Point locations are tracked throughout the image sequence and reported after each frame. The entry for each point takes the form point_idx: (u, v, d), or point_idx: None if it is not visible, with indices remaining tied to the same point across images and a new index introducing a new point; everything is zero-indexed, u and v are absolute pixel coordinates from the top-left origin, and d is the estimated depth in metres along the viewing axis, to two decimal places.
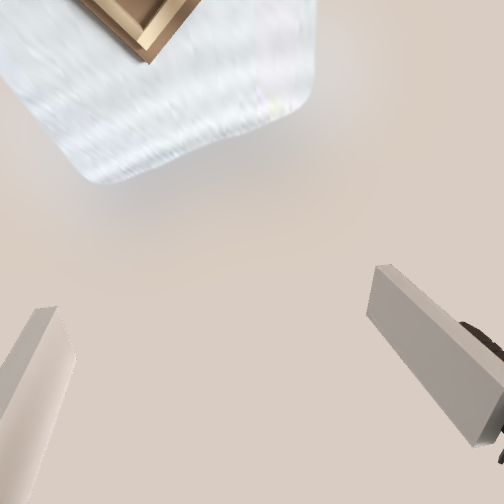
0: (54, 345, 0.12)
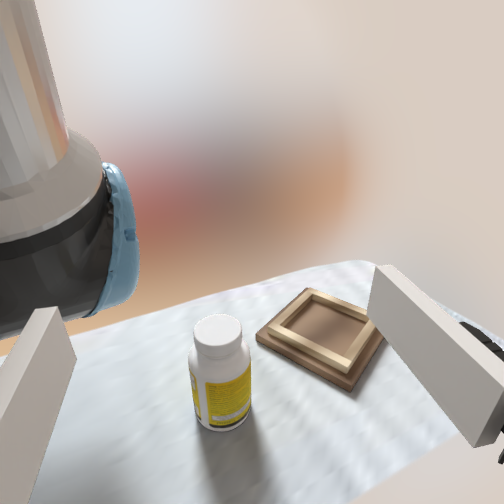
0: (54, 345, 0.12)
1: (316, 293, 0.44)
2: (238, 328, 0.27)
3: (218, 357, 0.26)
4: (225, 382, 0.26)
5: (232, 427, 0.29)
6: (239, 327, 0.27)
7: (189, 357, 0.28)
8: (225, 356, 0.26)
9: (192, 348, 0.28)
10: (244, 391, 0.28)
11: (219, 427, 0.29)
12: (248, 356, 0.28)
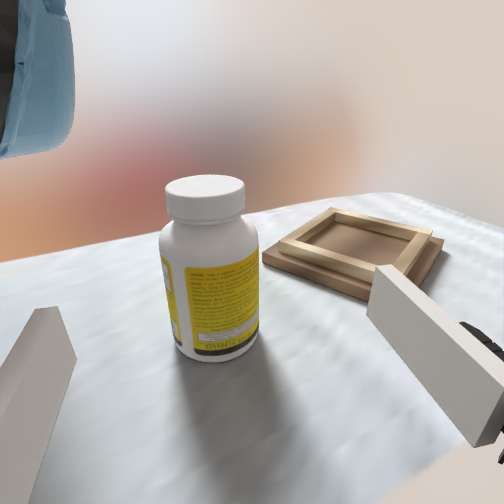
0: (54, 345, 0.12)
1: (340, 212, 0.34)
2: (239, 183, 0.17)
3: (206, 222, 0.16)
4: (218, 267, 0.16)
5: (230, 355, 0.19)
6: (240, 183, 0.17)
7: (160, 236, 0.17)
8: (217, 222, 0.16)
9: (166, 226, 0.18)
10: (249, 294, 0.18)
11: (209, 353, 0.18)
12: (255, 235, 0.17)
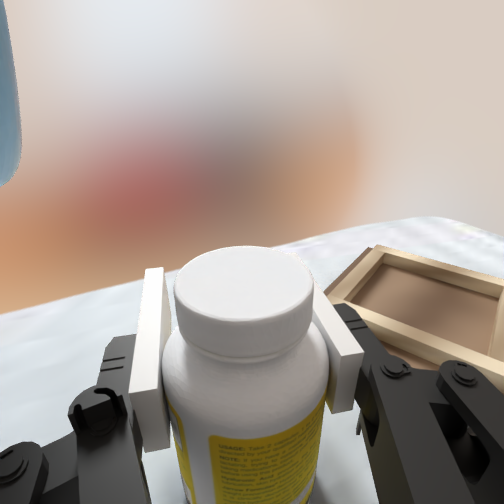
0: (165, 298, 0.14)
1: (391, 252, 0.27)
2: (304, 275, 0.09)
3: (250, 359, 0.08)
4: (271, 436, 0.09)
5: None
6: (306, 272, 0.10)
7: (164, 359, 0.10)
8: (271, 356, 0.08)
9: (173, 335, 0.11)
10: (313, 451, 0.11)
11: None
12: (326, 356, 0.10)
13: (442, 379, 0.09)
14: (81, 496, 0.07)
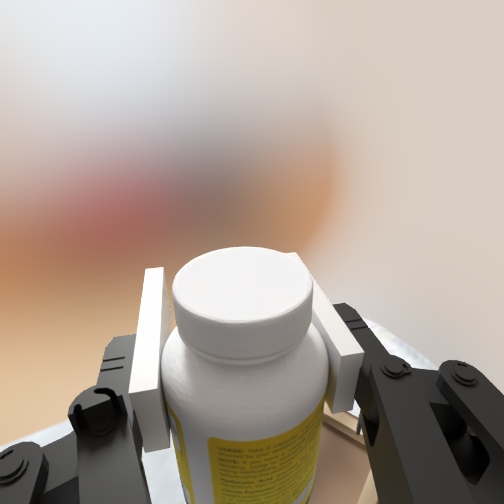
0: (165, 298, 0.14)
1: None
2: (303, 276, 0.09)
3: (249, 361, 0.08)
4: (270, 439, 0.09)
5: None
6: (305, 274, 0.09)
7: (163, 361, 0.10)
8: (270, 357, 0.08)
9: (172, 336, 0.10)
10: (312, 453, 0.10)
11: None
12: (326, 357, 0.10)
13: (442, 379, 0.09)
14: (81, 496, 0.07)
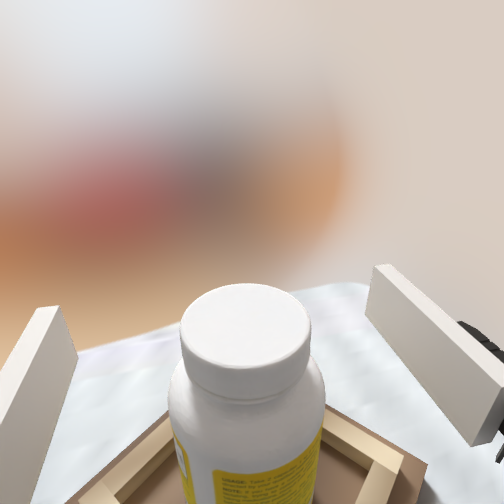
0: (56, 344, 0.12)
1: None
2: (301, 317, 0.10)
3: (251, 400, 0.09)
4: (271, 471, 0.09)
5: None
6: (303, 314, 0.10)
7: (170, 394, 0.11)
8: (271, 396, 0.09)
9: (179, 369, 0.11)
10: (310, 479, 0.11)
11: None
12: (323, 390, 0.11)
13: None
14: None
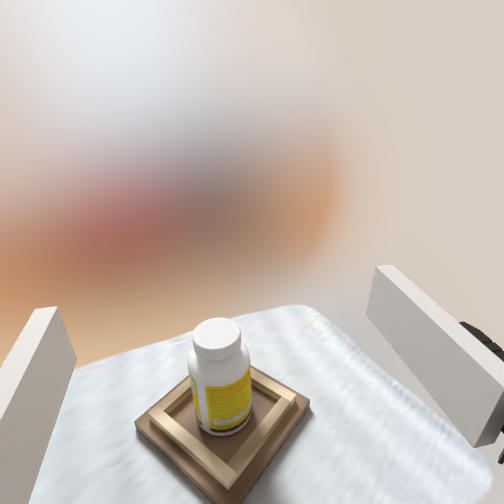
0: (54, 345, 0.12)
1: None
2: (237, 331, 0.27)
3: (217, 360, 0.26)
4: (225, 386, 0.26)
5: (233, 431, 0.29)
6: (238, 330, 0.27)
7: (189, 361, 0.28)
8: (224, 359, 0.26)
9: (192, 352, 0.28)
10: (244, 395, 0.28)
11: (220, 431, 0.29)
12: (247, 359, 0.28)
13: None
14: None
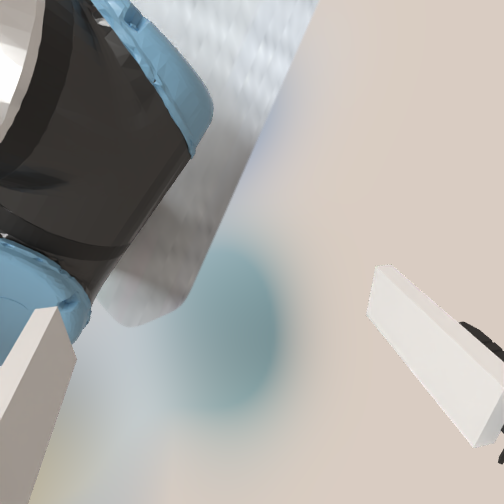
0: (54, 345, 0.12)
1: None
2: None
3: None
4: None
5: None
6: None
7: None
8: None
9: None
10: None
11: None
12: None
13: None
14: None
